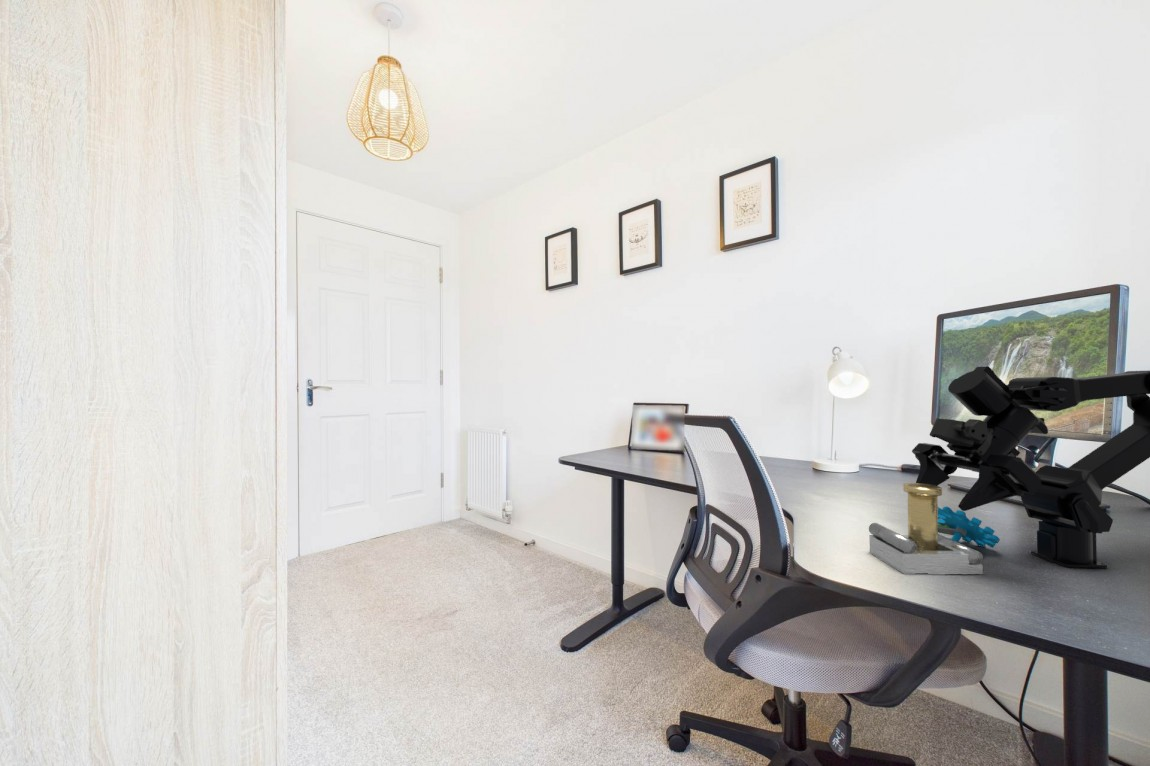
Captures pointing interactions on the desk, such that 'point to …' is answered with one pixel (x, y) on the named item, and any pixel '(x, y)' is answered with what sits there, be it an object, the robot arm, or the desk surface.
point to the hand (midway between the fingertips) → (936, 501)
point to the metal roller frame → (923, 554)
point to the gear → (964, 528)
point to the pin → (923, 515)
